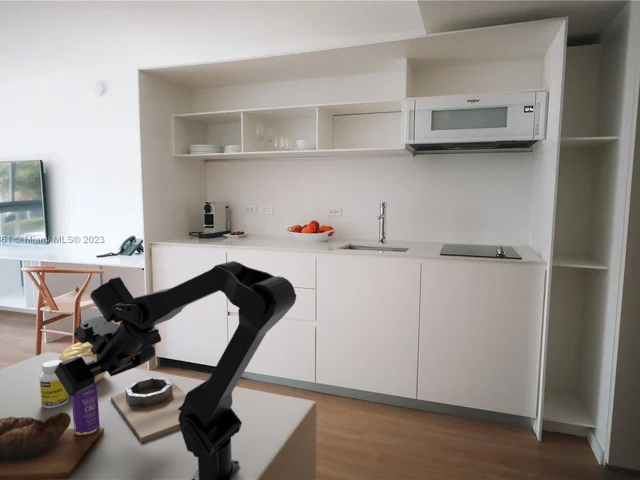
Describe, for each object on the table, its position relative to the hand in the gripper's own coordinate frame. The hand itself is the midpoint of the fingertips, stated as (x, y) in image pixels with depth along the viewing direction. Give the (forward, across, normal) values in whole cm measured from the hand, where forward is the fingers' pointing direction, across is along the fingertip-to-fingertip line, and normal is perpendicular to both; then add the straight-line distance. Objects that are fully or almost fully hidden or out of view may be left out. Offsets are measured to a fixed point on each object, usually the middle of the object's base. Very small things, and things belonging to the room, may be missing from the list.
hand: (90, 383), depth 87 cm
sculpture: (+24, -15, -8) cm, 29 cm away
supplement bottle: (+21, -4, -6) cm, 22 cm away
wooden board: (+4, -12, +11) cm, 17 cm away
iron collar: (+7, -14, +8) cm, 18 cm away
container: (+9, 0, +6) cm, 11 cm away
